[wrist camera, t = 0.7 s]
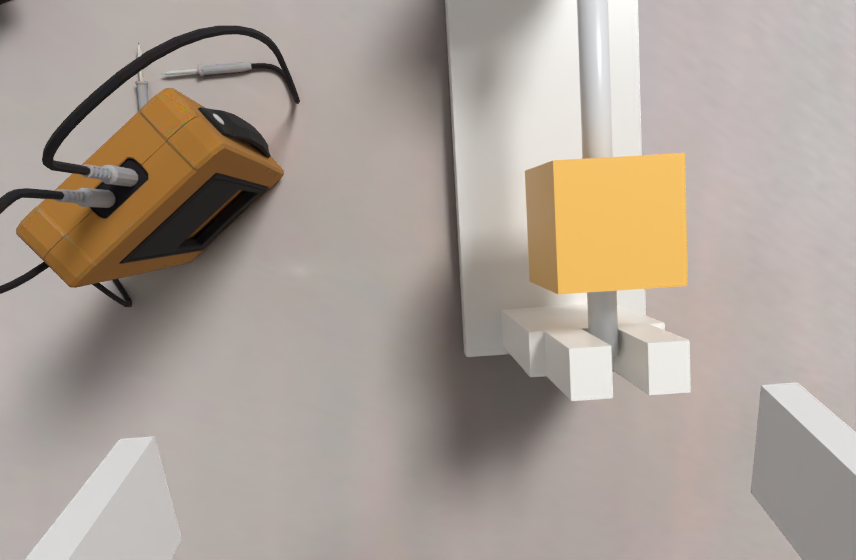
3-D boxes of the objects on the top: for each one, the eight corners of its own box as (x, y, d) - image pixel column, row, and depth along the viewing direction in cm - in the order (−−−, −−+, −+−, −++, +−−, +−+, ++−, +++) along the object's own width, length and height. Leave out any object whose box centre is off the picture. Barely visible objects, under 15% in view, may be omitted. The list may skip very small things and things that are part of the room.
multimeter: (205, -17, 33) (-74, -374, 13) (338, 127, 34) (263, 0, 14) (3, 174, 33) (-570, 108, 13) (140, 311, 34) (-203, 438, 15)
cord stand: (638, 340, 36) (759, 399, 24) (464, 352, 36) (500, 419, 24) (626, -103, 34) (754, -278, 22) (439, -96, 33) (466, -272, 21)
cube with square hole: (637, 274, 29) (687, 285, 24) (529, 281, 29) (558, 294, 24) (634, 164, 29) (684, 153, 24) (524, 170, 28) (552, 160, 23)
